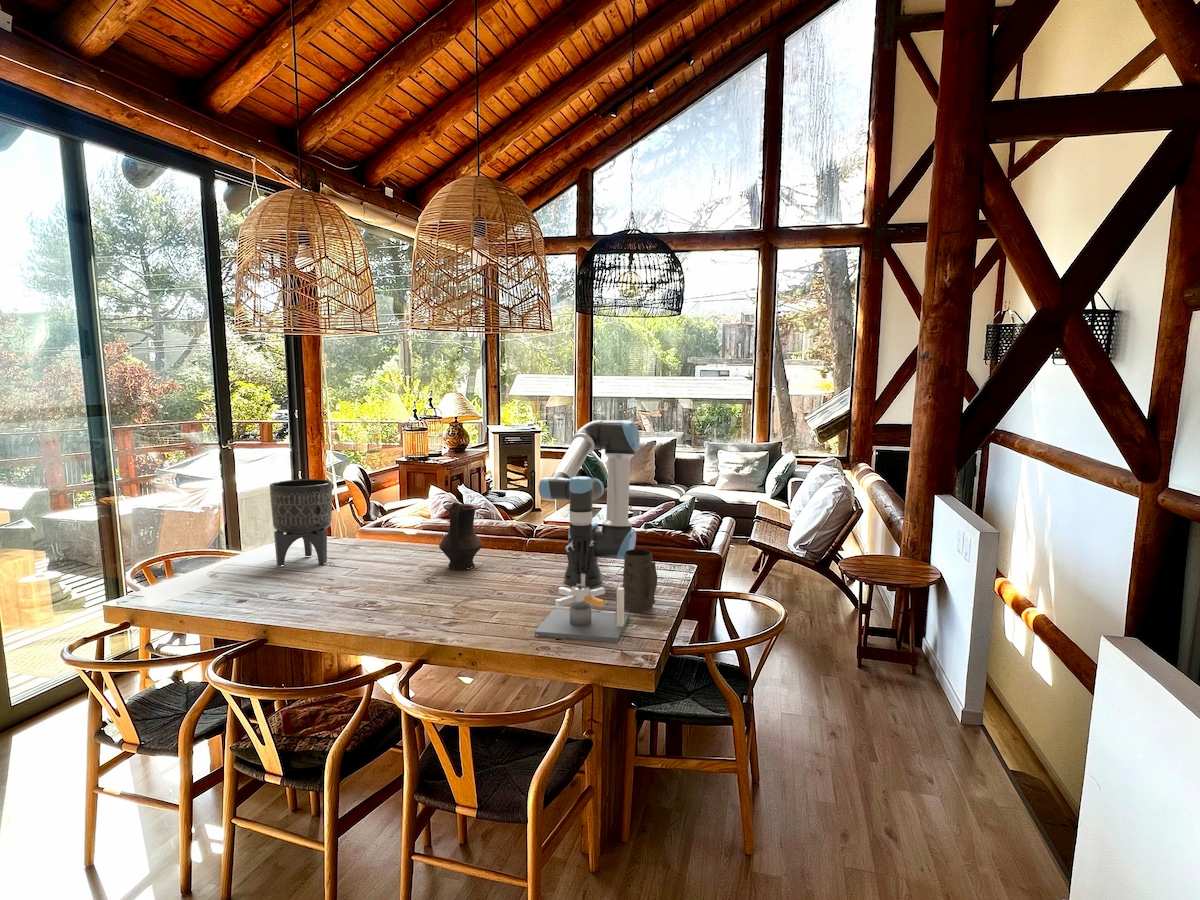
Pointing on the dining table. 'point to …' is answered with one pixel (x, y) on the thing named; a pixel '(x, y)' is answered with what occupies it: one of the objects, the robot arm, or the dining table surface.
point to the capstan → (580, 597)
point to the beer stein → (639, 580)
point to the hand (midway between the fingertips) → (580, 592)
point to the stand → (586, 623)
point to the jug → (461, 536)
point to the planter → (301, 515)
